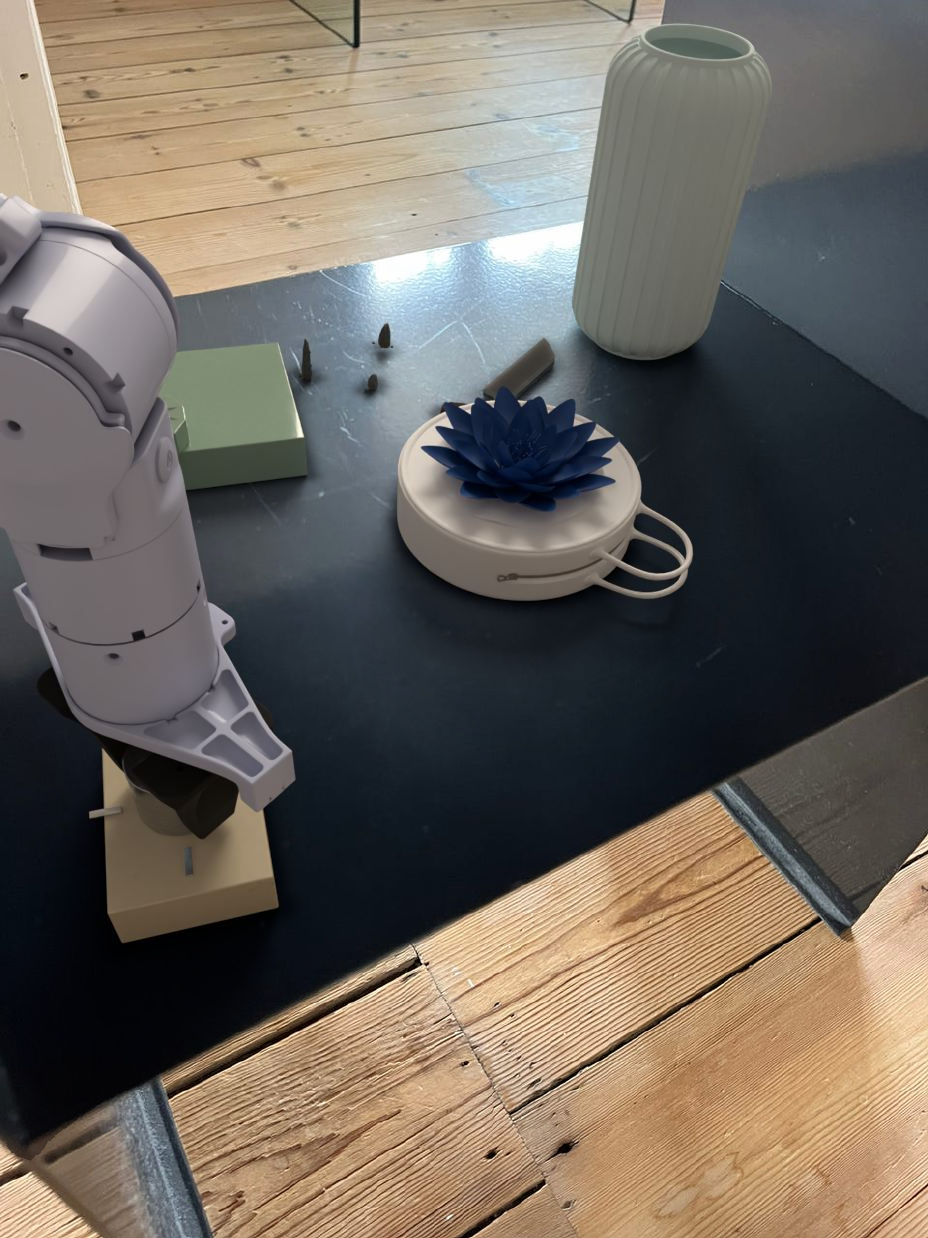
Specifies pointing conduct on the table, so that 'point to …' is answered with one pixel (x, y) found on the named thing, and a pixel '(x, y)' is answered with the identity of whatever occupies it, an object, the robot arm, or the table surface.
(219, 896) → the beige rotary knob box
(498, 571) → the round zippered pouch
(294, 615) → the table surface
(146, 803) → the dial
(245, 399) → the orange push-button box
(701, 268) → the vase
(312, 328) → the table surface
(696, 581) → the table surface
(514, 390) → the knife
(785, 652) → the table surface
